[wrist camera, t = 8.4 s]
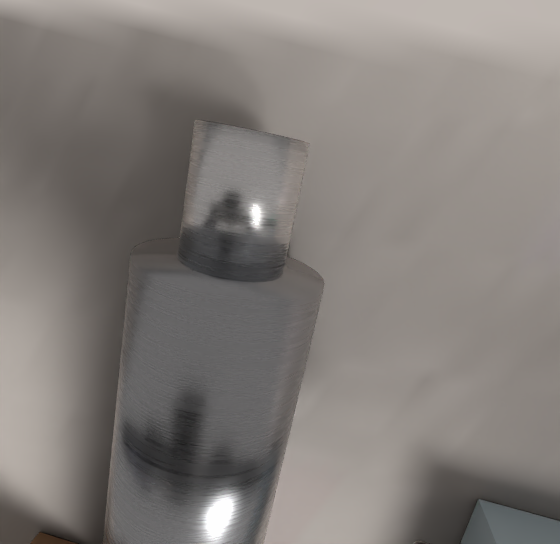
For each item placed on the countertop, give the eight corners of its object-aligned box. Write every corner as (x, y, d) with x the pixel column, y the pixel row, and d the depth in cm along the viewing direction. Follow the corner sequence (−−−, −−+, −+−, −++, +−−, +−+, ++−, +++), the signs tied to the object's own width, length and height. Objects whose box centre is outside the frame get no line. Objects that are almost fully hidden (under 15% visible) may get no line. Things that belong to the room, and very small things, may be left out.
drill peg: (334, 152, 9) (382, 154, 6) (236, 595, 13) (228, 762, 9) (169, 117, 9) (112, 97, 5) (116, 585, 12) (62, 755, 9)
